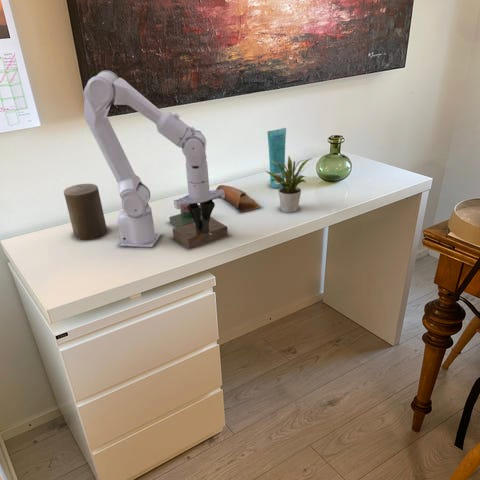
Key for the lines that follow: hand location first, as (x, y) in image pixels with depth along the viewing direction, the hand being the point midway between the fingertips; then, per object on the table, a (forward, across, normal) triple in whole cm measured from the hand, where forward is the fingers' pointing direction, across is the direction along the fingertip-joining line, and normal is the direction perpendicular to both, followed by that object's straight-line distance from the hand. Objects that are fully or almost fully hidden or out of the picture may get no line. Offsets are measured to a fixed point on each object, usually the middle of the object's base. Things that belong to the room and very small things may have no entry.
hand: (202, 227), depth 141 cm
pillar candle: (+4, +26, -23) cm, 35 cm away
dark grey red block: (+1, 0, 0) cm, 1 cm away
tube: (+4, -41, -24) cm, 48 cm away
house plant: (+4, -34, -5) cm, 34 cm away
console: (+4, 0, -2) cm, 4 cm away
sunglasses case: (+4, -22, -19) cm, 30 cm away
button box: (+4, -2, -13) cm, 13 cm away
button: (0, -3, -14) cm, 15 cm away
